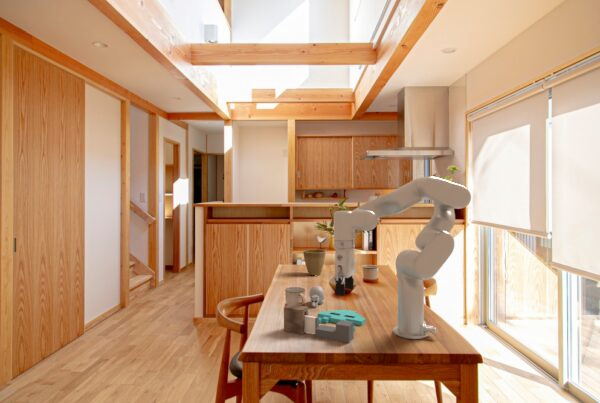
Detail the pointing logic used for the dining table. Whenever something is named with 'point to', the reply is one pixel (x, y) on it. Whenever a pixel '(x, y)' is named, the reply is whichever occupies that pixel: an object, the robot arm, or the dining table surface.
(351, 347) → the dining table surface
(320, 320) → the alien figure
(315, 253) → the plant pot
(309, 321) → the gate
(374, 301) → the dining table surface
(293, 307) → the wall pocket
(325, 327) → the grey stepped block
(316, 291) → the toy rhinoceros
